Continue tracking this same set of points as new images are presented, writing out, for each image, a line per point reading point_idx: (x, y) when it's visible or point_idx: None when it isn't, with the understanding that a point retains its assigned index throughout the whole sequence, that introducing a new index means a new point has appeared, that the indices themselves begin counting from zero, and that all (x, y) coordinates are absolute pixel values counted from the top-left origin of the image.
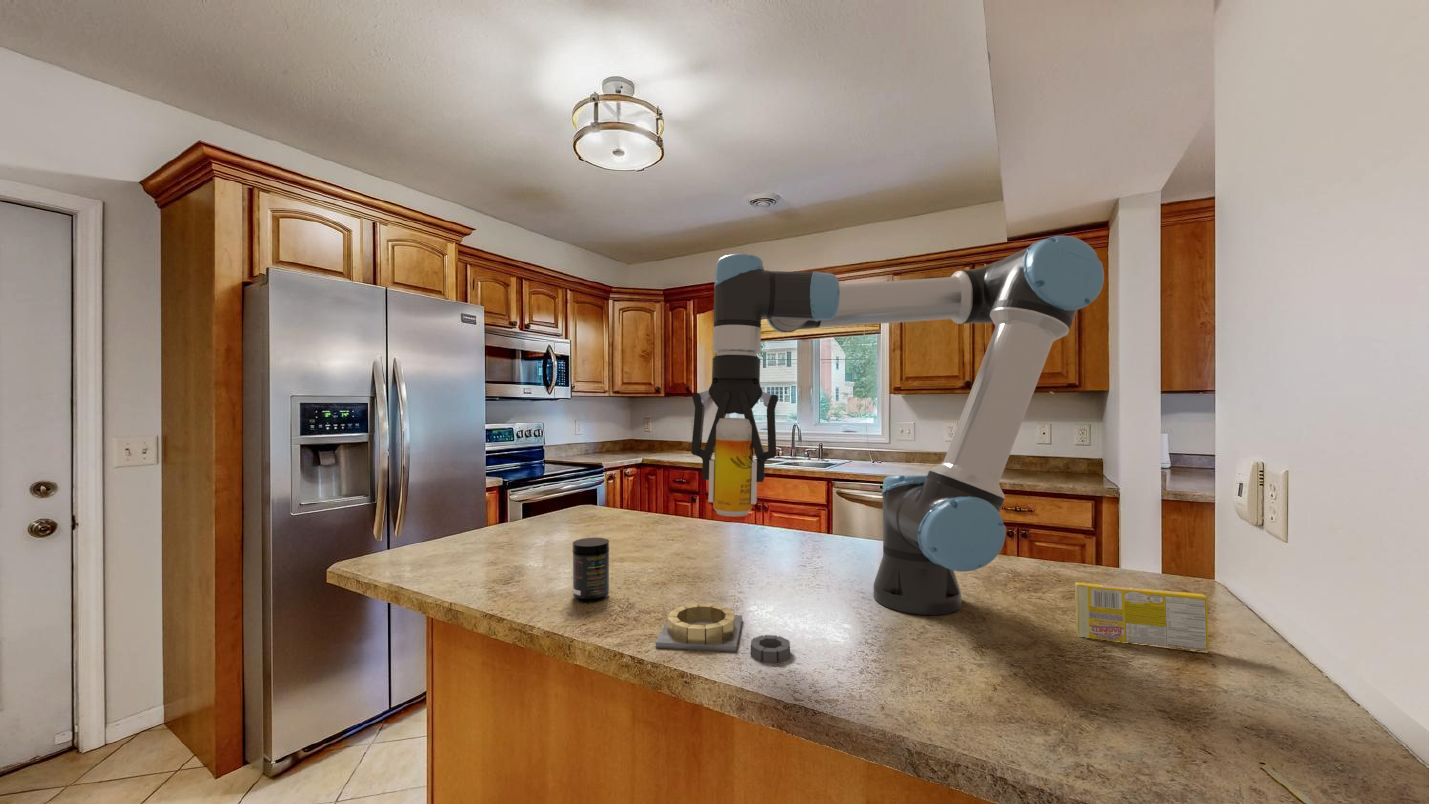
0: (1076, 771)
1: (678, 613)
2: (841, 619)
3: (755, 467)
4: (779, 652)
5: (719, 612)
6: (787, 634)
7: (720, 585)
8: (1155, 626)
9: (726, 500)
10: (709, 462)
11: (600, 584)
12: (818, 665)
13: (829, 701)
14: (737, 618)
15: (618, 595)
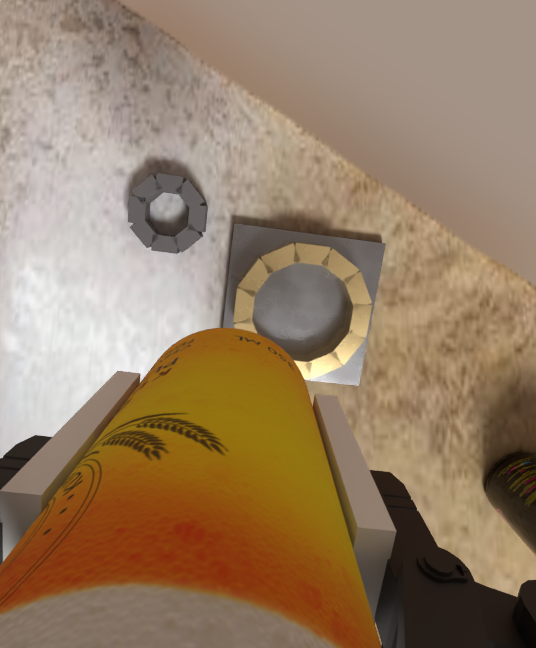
0: None
1: (349, 327)
2: (17, 372)
3: (33, 468)
4: (151, 174)
5: None
6: (132, 300)
7: None
8: None
9: (254, 346)
10: (390, 521)
11: (518, 477)
12: (83, 163)
13: (77, 21)
14: None
15: (464, 490)
